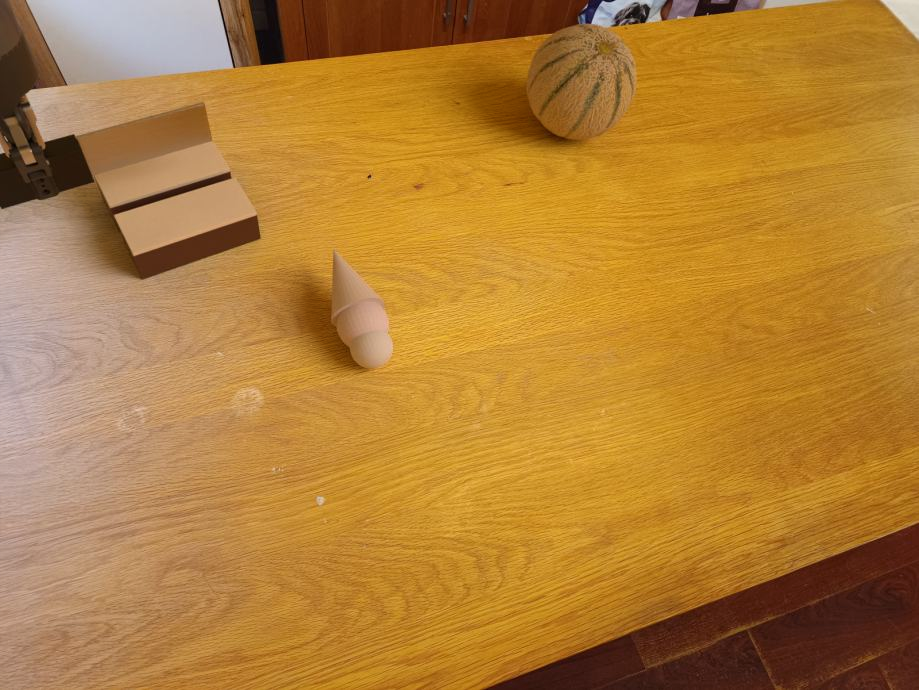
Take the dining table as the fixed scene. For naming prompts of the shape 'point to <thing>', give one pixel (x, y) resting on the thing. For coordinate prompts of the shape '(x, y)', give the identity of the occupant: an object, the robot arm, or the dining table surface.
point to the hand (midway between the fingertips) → (43, 185)
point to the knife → (109, 150)
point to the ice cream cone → (359, 316)
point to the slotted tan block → (178, 208)
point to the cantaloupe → (581, 81)
